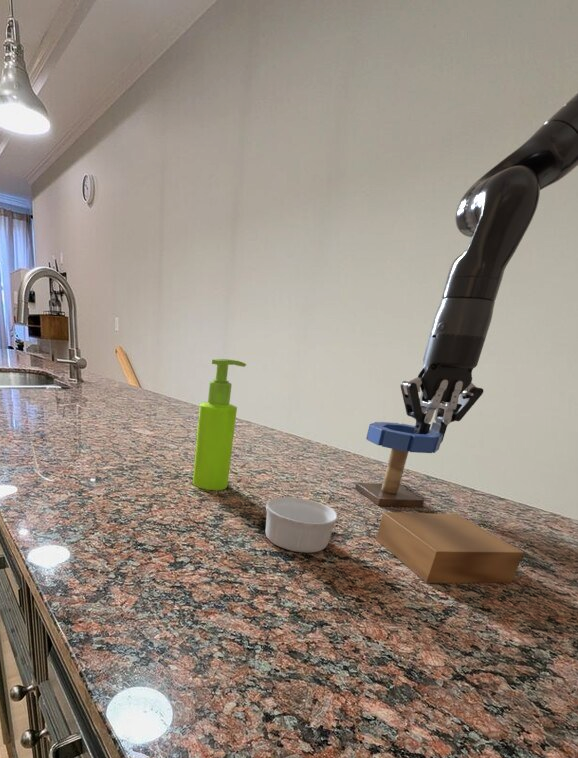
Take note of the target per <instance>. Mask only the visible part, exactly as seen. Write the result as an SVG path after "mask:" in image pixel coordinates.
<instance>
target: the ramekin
mask: <svg viewBox="0 0 578 758" xmlns="http://www.w3.org/2000/svg"><path fill="white" fill-rule="evenodd" d="M265 509H266V517H265V529H264V530H265V536H266V538H267V540H269V541H270V542H271V543H272V544H273V545H275V546H277V547H279V548H282V549H284V550H287V551H291V552H295V553H304V554H305V553H307V554H310V553H311V554H313V553H318V552H321V551H323V550H325V549H326V548H327V547H328V545H329V542H330V539H331V537H332V533H333V529H334V527H335V524H336V523H337V521H338V519H339V515H338V513H337V512H336V511H335V510H334V509H333V508H332V507H330V506H328V505H326V504H325V503H324V504H323V503H322V502H319V501H315V500H312V499H308V498H303V497H295V496H280V497H273V498H271V499H269V500H268V501H267V502H266V504H265Z"/></svg>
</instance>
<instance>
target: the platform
mask: <svg viewBox="0 0 578 758" xmlns="http://www.w3.org/2000/svg"><path fill="white" fill-rule="evenodd" d="M375 540H376V541H377V542H378V543H379V544H381V545H382V546H383V547H384V548H385V549H386V550H387V551H389V552H390V553H391V554H392V555H393V556H394V557H396V558H397V560H399V561H400V562H401V563H402V564H404V566H406V567H407V568H408V569H409V570H411V571H412V572H413V573H415V575H417V576H418V578H420V579H421V580H422V581H424V582H425V584H511V583H512V582H513V580H514V578H515V576H516V573H517V571H518V568H519V565H520V564H521V561H522V558H523V556H524V554H525V552H524V551H523V550H521V549H519V548H518V547H516V546H514V545H512V544H510V543H509V542H507V541H505V540H503V539H501V538H499V537H498V536H496V535H495V534H493V533H491V532H489V531H488V530H486V529H485V528H482V527H480V526H479V525H477V524H476V523H474V522H472V521H471V520H469V519H466V518H465V517H463V516H462V515H460V514H457V513H430V512H429V513H426V512H425V513H423V512H392V511H389V512H387V511H383V512H382V516H381V519H380V522H379V526H378V530H377V534H376V537H375Z"/></svg>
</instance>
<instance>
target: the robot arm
mask: <svg viewBox="0 0 578 758" xmlns="http://www.w3.org/2000/svg"><path fill="white" fill-rule="evenodd" d="M577 167H578V92H577V93H576V94H575V95H574V96H572V97H571V98H570V100H568V101H567V102H566V103H565V104H564V105H563V106H562V107H561V108H560V109H558V110H557V111H556V112H555V113H554V114H553V115H552V116H551V117H549V119H547V120H546V121H545V123H543V124H542V125H541V126H540V127H539V128H538V129H537V130H536V131H535V132H534V133H533V134H532V136H531V137H529V138H528V139H527V140H526V141H525V142H524V143H523V144H522V145H521V146H519V147H518V148H516V149H515V150H514V151H513V152H511V153H510V154H508V155H507V156H506V157H505V158H504V159H502V160H501V161H500V162H498V164H496V165H495V166H493V167H492V168H490V170H489V171H487V172H486V173H485V174H483V175H482V176H481V177H480V178H479V179H478V180H476V181H475V182H474V183H473V184H472V185H471V186H470V187H469V188H468V189H467V190H466V192H465V193H464V194H463V196H462V197H461V199H460V201H459V203H458V205H457V207H456V210H455V219H454V221H455V226H456V228H457V230H458V231H459V232H460V234H462V235H463V236H464V237H468V238H471V239H470V242H469V243H468V246H467V247H466V249H465V250H464V251H463V252H462V253H461V254H460V255H458V256H457V257H456V258H455V259H454V260H453V262H452V263H451V266H450V268H449V271H448V274H447V276H446V281H445V284H444V287H443V290H442V295H441V299H440V302H439V305H438V307H437V309H436V312H435V315H434V318H433V322H432V325H431V329H430V333H429V336H428V339H427V343H426V347H425V351H424V355H423V358H422V361H423V366H422V368H421V370H420V371H419V373H418V374H417V377H415V378H413V379H411V380H409V381H407V380H404V381H402V382H401V383H400V391H401V395H402V399H403V404H404V408H405V413H406V415H407V416H408V417H411V418H413V419H414V420H415V425H414V426H415V428H414V432H413V434H428V432H429V429H431V430H434V431H436V432H439V433H442V434H443V437H442V441H441V443H443V441H444V438H445V435H446V431H447V428H448V426H449V425H450V424H451V423H453V422H460V421H461V420H462V419H463V418H464V417H465V416H466V415H467V413H468V412H469V411H470V410H471V409H472V408H473V406H474V405H475V404H476V402H477V401H478V400H479V399H480V398H481V396H482V395H483V394H484V388H483V387H478V386H476V385H475V384H474V383H473V371H474V369H475V368H476V367H477V366H478V363H479V361H480V357H481V354H482V351H483V348H484V345H485V341H486V338H487V335H488V332H489V329H490V325H491V323H492V318H493V313H494V308H495V304H496V300H497V297H498V293H499V290H500V287H501V284H502V281H503V277H504V274H505V270H506V268H507V266H508V265H509V263H510V261H511V259H512V258H513V256H514V254H515V253H516V251H517V249H518V247H519V245H520V244H521V242H522V240H523V238H524V237H525V234H526V232H527V231H528V229H529V227H530V225H531V223H532V221H533V219H534V216H535V214H536V211H537V208H538V205H539V201H540V195H541V191H542V190H544V189H545V188H547V187H549V186H552V185H554V184H555V183H557V182H559V181H560V180H562V179H564V178H565V176H566V177H567V175H569V174H570V173H571V172H572V171H573V170H574V169H575V168H577ZM419 393H421V394H419ZM429 401H430V402H429ZM434 413H435V414H434ZM433 416H434V421H432V419H433ZM431 422H432V424H431Z"/></svg>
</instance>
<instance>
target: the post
mask: <svg viewBox="0 0 578 758" xmlns="http://www.w3.org/2000/svg"><path fill="white" fill-rule="evenodd" d="M409 453H410V452H409V451H406V452H405V451H401V450H396V449H391V450H390V454H389V458H388V461H387V465H386V470H385V473H384V477H383V481H382V483H373V482H356V483H355V486H354V490H355V491H357V492H359V493H360V494H361V495H362V496H364V497H366V499H369V501H371V502H372V503H374V504H375V505H377V506H378V507H408V508H409V507H410V508H411V507H412V508H413V507H414V508H422V507H423V506H424V503H425V500H424V499H423V498H421V497H419V496H418V495H416V494H414V493H412V492H411V491H409V490H407V489H406V488H404V487H403V486H401V485H400V484H401V481H402V476H403V474H404V470H405V465H406V462H407V458H408V456H409Z"/></svg>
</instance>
